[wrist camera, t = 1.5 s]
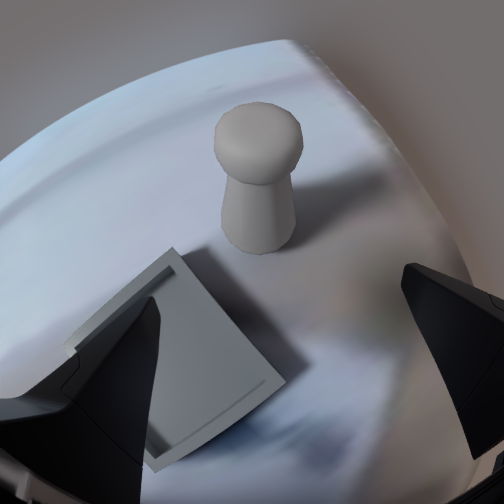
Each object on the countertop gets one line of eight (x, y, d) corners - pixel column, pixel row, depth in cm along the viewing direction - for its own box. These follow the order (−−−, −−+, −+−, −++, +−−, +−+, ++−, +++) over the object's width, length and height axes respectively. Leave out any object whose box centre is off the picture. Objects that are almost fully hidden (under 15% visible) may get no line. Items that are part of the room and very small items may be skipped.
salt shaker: (213, 216, 25) (177, 109, 12) (271, 188, 25) (279, 73, 13) (244, 274, 23) (227, 199, 11) (305, 243, 24) (347, 147, 11)
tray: (283, 377, 21) (286, 382, 18) (164, 462, 18) (155, 473, 16) (180, 255, 24) (172, 246, 21) (77, 344, 21) (62, 344, 19)
